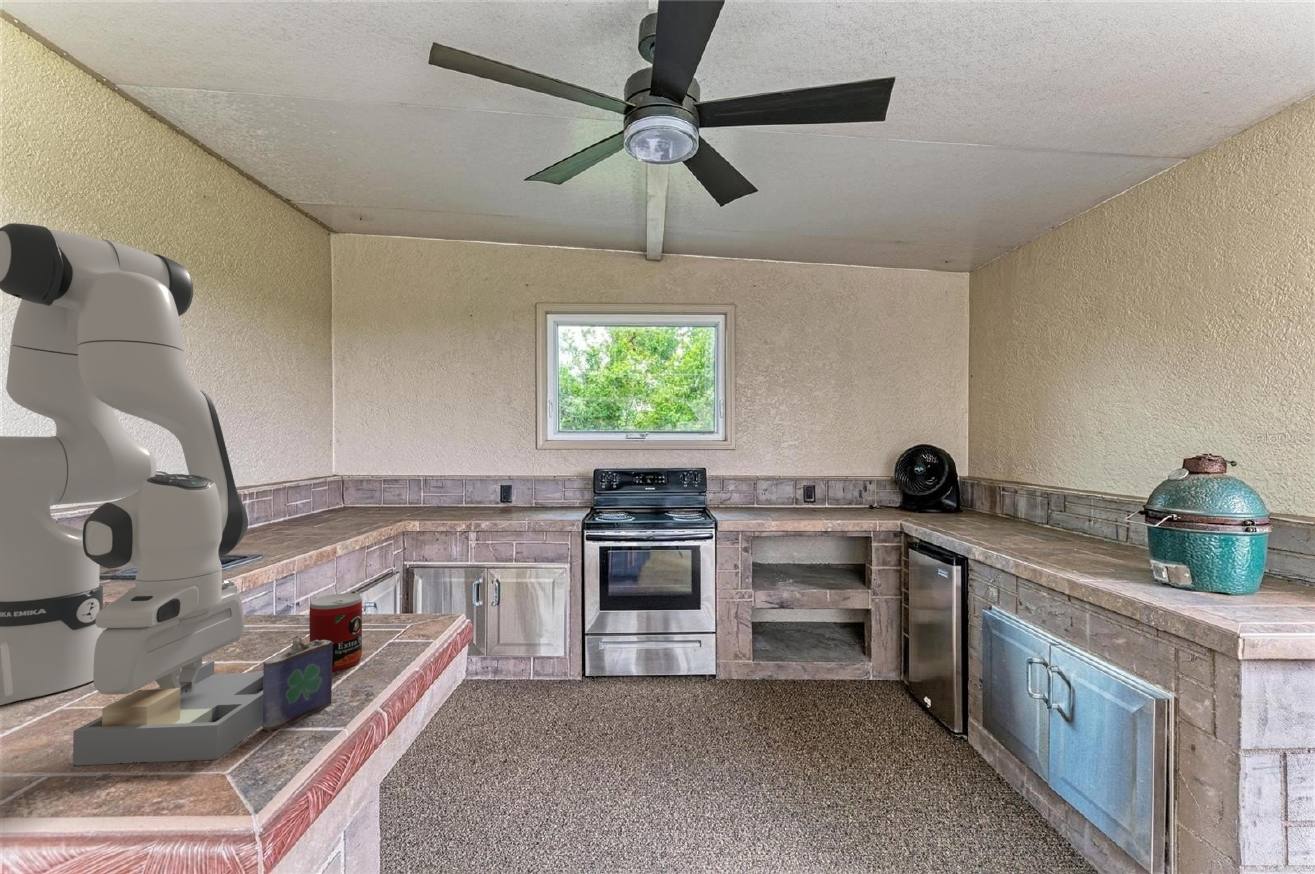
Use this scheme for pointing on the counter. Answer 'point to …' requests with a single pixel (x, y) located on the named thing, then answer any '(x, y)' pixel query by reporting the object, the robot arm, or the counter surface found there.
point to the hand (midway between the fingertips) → (179, 698)
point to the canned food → (338, 626)
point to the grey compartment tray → (182, 725)
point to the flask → (297, 683)
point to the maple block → (144, 708)
